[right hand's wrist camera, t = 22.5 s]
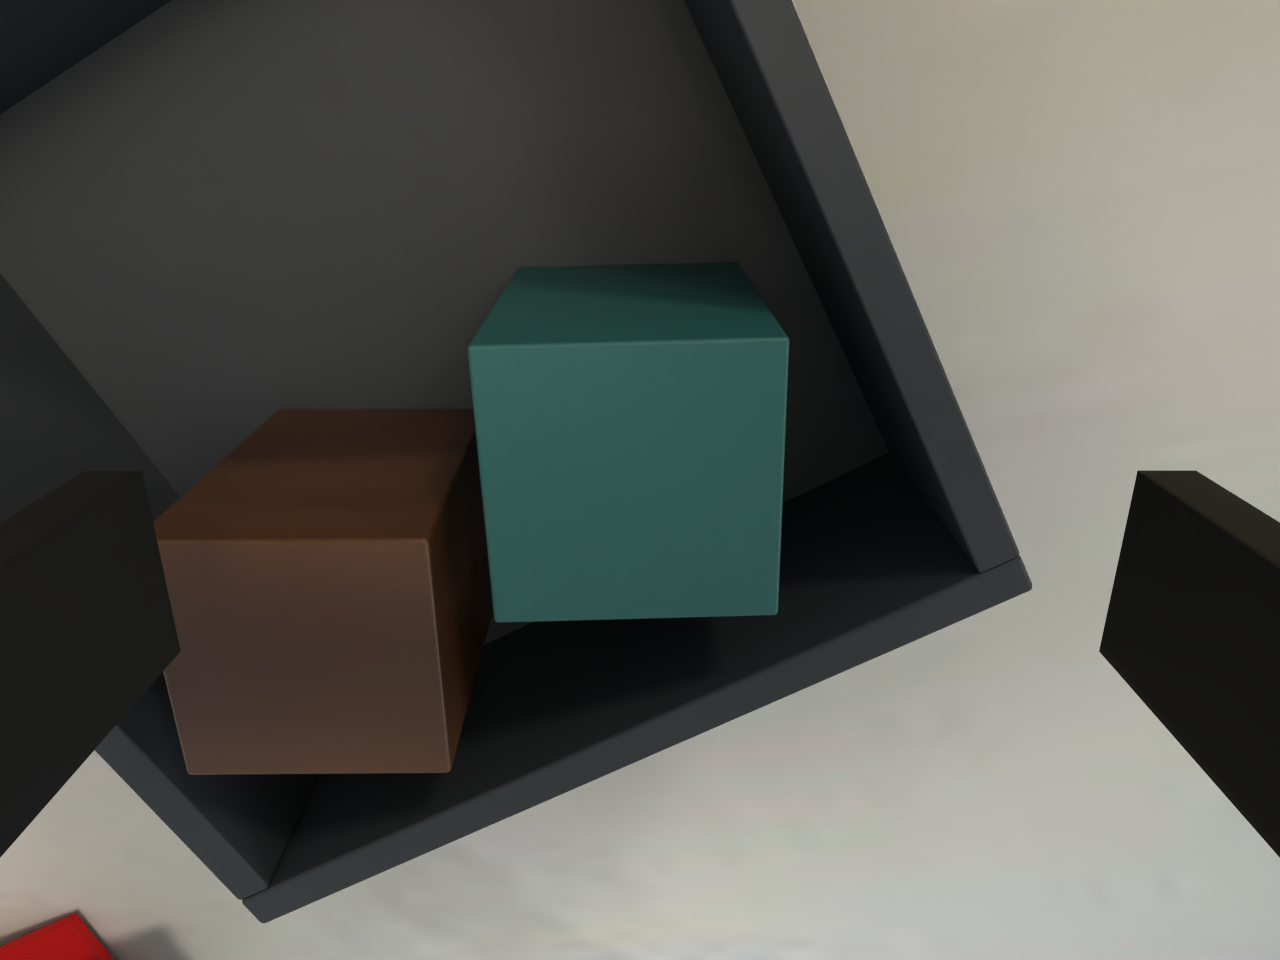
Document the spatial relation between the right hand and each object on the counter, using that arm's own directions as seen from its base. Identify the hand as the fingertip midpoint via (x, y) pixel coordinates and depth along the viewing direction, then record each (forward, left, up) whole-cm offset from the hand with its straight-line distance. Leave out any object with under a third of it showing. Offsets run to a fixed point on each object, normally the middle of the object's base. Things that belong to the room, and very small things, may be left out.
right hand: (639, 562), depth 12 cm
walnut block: (+6, -4, -10) cm, 12 cm away
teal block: (0, 0, -10) cm, 10 cm away
